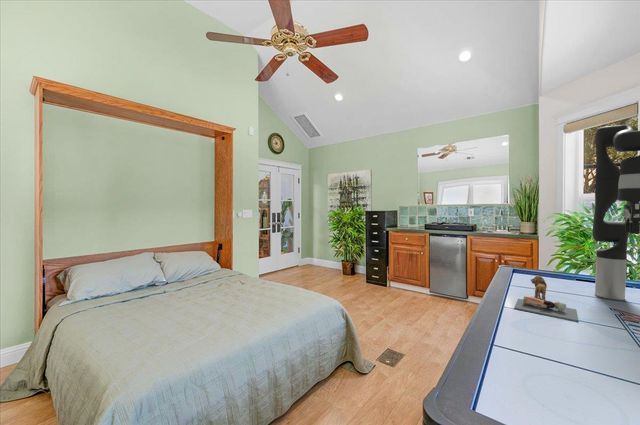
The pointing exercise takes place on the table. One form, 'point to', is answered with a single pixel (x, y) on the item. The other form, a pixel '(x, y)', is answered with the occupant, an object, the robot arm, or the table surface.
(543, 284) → the lion figurine
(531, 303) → the grandmother figurine
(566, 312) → the mat
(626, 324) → the table surface
